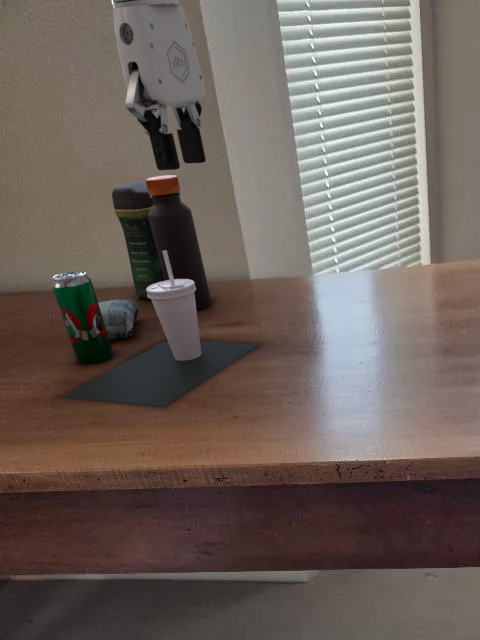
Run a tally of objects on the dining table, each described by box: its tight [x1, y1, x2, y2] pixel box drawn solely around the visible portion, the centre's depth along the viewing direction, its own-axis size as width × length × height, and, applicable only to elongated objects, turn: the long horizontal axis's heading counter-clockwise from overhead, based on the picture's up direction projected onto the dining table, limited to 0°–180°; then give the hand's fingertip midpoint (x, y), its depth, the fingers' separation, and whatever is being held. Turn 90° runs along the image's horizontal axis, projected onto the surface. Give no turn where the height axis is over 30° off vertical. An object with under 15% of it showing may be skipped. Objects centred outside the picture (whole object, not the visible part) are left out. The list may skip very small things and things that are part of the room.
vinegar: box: [145, 174, 212, 311], centre depth 119 cm, size 7×7×20 cm
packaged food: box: [98, 298, 139, 341], centre depth 113 cm, size 9×12×5 cm
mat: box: [62, 339, 260, 408], centre depth 98 cm, size 16×22×1 cm
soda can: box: [51, 270, 115, 365], centre depth 101 cm, size 5×5×12 cm
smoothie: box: [146, 250, 201, 361], centre depth 98 cm, size 6×6×14 cm
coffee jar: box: [111, 180, 165, 300], centre depth 129 cm, size 10×8×19 cm
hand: (182, 164), depth 95 cm, fingers open, 4 cm apart
